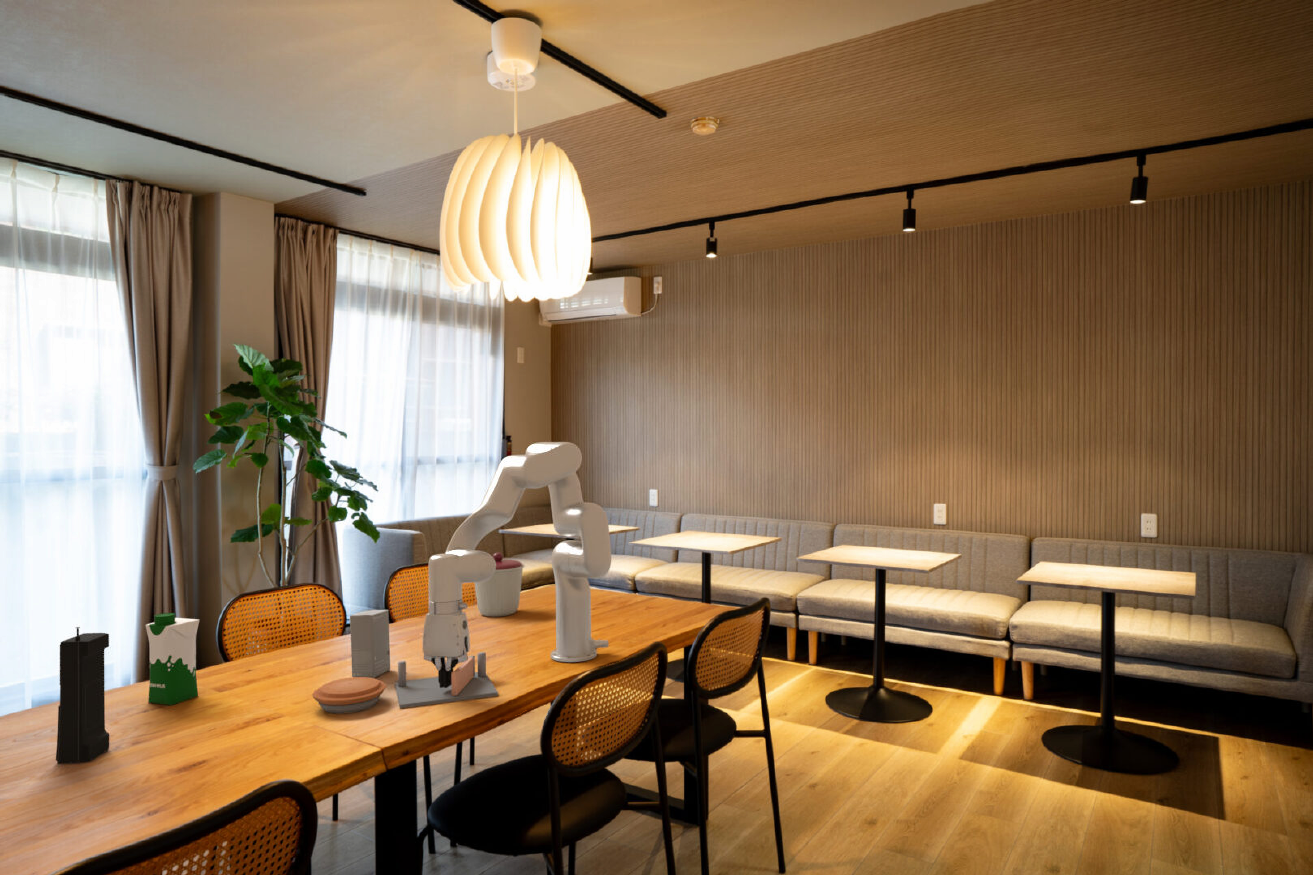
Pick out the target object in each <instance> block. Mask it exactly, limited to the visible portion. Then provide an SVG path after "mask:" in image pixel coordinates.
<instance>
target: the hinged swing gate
mask: <svg viewBox="0 0 1313 875" xmlns="http://www.w3.org/2000/svg"><path fill="white" fill-rule="evenodd" d="M394 687H395V691H396V698H397V702H398V706H399V709H407V708H415V707H421V706H422V707H423V706H430V705H435V704H445V703H453V702H454V703H455V702H460V701H468V700H475V699H476V698H477V699H484V698H491V697H492V698H493V697H498V696H499V692H498V690H497V688H496V687H495V686H494V683H493V682H492V680H491V679H490V677H489V676H488V674H487V653H486V652H483V651H481V652H478V653H477V671H475V676H474V677H473V678H472V679H471V680H470V681H469V682H468V684H467V685H466V686H465V687H464V688H463V689H462V690H461V691H460V692H459V693H458V695H455V696H453V695H452V685H450V686H449V687H447V688H444V687H443V688H440V683H439V682H438V676H433V677H423V678H415V679H409V680H407V661H406V660H401V661H400V660H399V661H397V681H395V682H394Z"/></svg>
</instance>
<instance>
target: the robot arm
mask: <svg viewBox="0 0 1313 875" xmlns="http://www.w3.org/2000/svg"><path fill="white" fill-rule="evenodd" d="M582 460H583V454H582V452H581V450H580V448H579V446H577V444H575V443H573V442H569V441H541V442H539V441H538V442H535V443H532V444H530V445H529V446H528V447H527V448H526V450H525V454H512V455H508V456H505V457H503V459H502V460H501V461H500V463H499V464H498V467H497V468H496V471H495V472H494V475H493V477H492V479H491V482H490V484H489V486H488V489H487V490H486V492H485V494H484V497H483V499H482V501H481V503H480V505H479V506H478V507H477V508H476V510H474V511H473V512H472V513H471V514H469V516H468V517H467V518H466V519H465V520H464V521H463V522H462V523H461V524H460V526H459V527H457V529H456V530H455V532H454V533H453V535H452V537H451V539H450V541H449V543H448V545H447V548H446V550H445V552H444V553H438V554H433V555H431V556H430V557H429V560H428V613H426V615H425V618H424V624H423V632H422V653H423V660H425V661H427V662H431V663H432V664H433V666H435V669H436V671H438V673H437V674H438V676H437V677H438V682H439V683H440V688H443V687H444V688H447V687H449V686H450V685H452V681H451V674H452V672H453V671H454V668H456V666H457V665H458V664H462V663H463V662H465V661H467V660H468V657H469V656H468V653H469V652H470V650H471V649H470V648H471V640H470V639H471V638H470V629H469V623H468V616H467V614H466V611H463V610H467V608H468V603H467V602H465V601H464V602H463V600H464V599H463V584H468V583H474V584H475V583H479V582H484V581H486V580H488V579H490V578H491V577H492V576H493V574H494V572H495V570H496V562H495V560H494V558H493V555H491V554H490V553H488V552H486V551H482V550H478V549H477V550H476V547H477V546H478V545H479V543H480V542H481V541H482V539H484V537H486V536H487V535H489V533H492V532H493V531H495V530H496V529H499V528H500V527H503V526H504V525H506V524H508V523H509V522H510V521H512V519H513V518H514V515H515V513H516V511H517V509H518V506H519V503H520V502H521V499H522V497H523V494H524V493H525V490H526V489H533V490H535V489H541V488H544V487H548V491H549V497H550V498H549V499H550V505H551V506H550V507H551V515H552V517H551V518H552V524H553V528H554V531H555V532H556V533H558V535H560V536H564V537H570V538H571V537H572V538H580V540H574V539H573V540H564V541H560V543H559V542H558V544H556V546H554V548H553V551H552V553H551V567H552V572H553V576H554V583H555V584H554V585H555V586H554V587H555V637H556V640H555V641H556V642H555V644H556V645H555V646H556V649H554V650H552V651H551V652H550V658H551V659H552V660H554V661H556V662H559V663H560V662H561V663H579V662H586V661H587V662H588V661H590V660H593V659H595V658H596V657H597V655H598V651H597V650H598V648H600V649H601V648H603V649H604V648H609V640H608V639H603V640H601V639H593V637H592V608H591V607H592V605H591V604H592V602H591V601H592V600H591V599H592V596H591V594H592V592H591V587H590V586H591V585H590V583H589V582H590V581H588V580H589V579H591V580H593V579H596V580H597V579H602V578H604V577H605V576H606V575H607V574H608V573H609V571H610V568H611V567H612V547H611V539H610V538H611V537H610V536H611V535H610V529H609V528H610V527H609V521H608V516H607V514H606V512H605V510H604V509H603V508H602V506H601V505H599V504H597V503H594V502H588V501H587V502H586V501H585V502H584V499H583V494H582V489H581V488H582V487H581V482H580V479H579V477H578V474H577V473H576V472H577V471H578V470H579V469H580V467H581V465H582Z"/></svg>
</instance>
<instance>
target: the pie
mask: <svg viewBox="0 0 1313 875" xmlns="http://www.w3.org/2000/svg"><path fill="white" fill-rule="evenodd" d="M386 689H387V685H386V683H385V682H383V681H382V680H379V679H377V678H370V677H347V678H346V677H345V678H340V679H336V680H333V681H329V682H327V683H324V684H323V685H321V686H320V687H318V688H317V689H315V690H314V691H313V692H312V694H311V695H312V698H313V699H314V700H315V701H316V702H318V705H319V706H320V707H321V709H322V710H323V711H324V712H326V713H330V714H351V713H356V712H361V710H362V711H365V710H367V709H370V708H372V707H374V706H375V705H376V704H377V703H378V701H379V699H380V697H381V695H382V694H383V693H384V691H385V690H386Z"/></svg>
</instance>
